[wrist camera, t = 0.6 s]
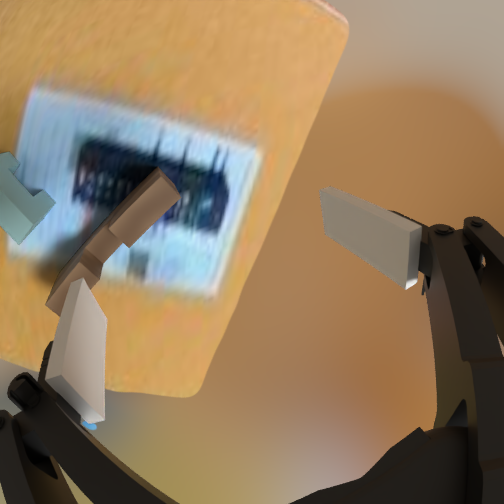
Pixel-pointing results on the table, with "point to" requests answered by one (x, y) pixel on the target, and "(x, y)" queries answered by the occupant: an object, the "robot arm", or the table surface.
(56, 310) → the walnut fin
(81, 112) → the table surface
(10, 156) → the light blue piece
